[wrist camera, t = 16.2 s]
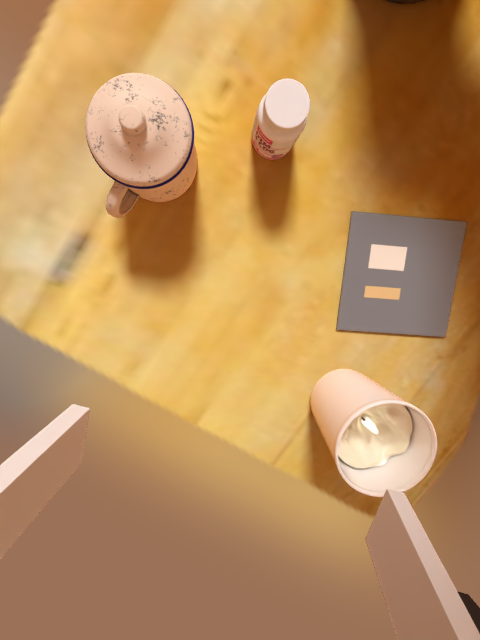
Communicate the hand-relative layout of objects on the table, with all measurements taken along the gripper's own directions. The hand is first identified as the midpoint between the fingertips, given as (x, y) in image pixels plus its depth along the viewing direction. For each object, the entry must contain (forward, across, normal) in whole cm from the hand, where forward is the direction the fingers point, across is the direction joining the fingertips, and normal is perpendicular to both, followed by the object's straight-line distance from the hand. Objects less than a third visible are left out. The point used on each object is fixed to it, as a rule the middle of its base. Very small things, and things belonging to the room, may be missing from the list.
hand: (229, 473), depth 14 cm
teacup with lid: (+27, -15, +14) cm, 34 cm away
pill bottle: (+29, -3, +20) cm, 36 cm away
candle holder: (+28, +13, -7) cm, 32 cm away
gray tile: (+30, +16, +9) cm, 35 cm away
